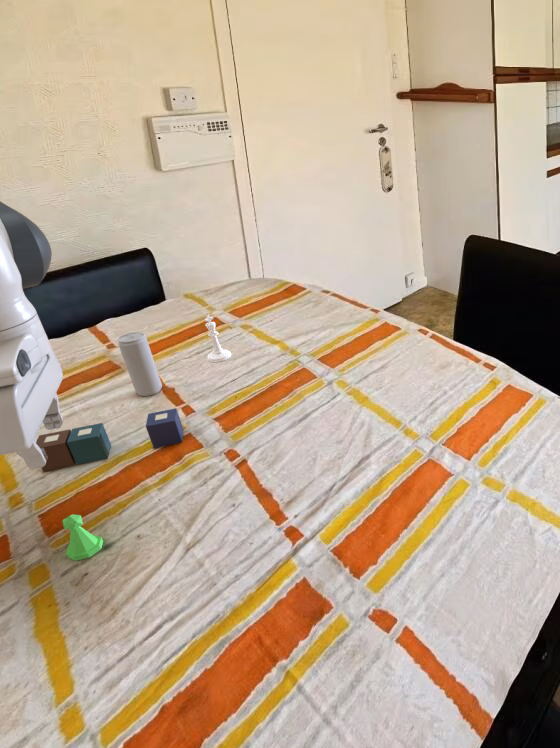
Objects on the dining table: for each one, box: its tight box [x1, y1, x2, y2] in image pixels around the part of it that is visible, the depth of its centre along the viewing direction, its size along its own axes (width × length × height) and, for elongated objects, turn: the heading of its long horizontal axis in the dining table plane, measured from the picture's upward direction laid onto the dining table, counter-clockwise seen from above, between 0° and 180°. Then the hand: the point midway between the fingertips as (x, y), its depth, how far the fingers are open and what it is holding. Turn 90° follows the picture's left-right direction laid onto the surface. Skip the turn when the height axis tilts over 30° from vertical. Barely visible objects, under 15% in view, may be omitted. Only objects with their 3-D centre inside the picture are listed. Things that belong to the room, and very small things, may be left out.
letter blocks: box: [36, 408, 184, 472], centre depth 106 cm, size 21×4×5 cm, turn 112°
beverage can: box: [117, 331, 163, 397], centre depth 122 cm, size 5×5×12 cm
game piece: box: [62, 514, 104, 562], centre depth 84 cm, size 4×4×6 cm
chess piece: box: [204, 314, 232, 363], centre depth 136 cm, size 5×5×10 cm
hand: (48, 444), depth 78 cm, fingers open, 8 cm apart
